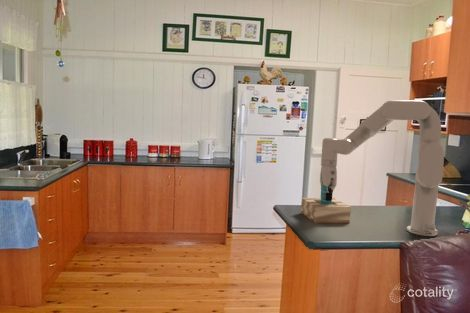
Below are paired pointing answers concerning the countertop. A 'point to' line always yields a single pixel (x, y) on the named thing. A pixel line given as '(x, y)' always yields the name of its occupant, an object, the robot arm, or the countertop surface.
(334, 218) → the socket block
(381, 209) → the countertop surface
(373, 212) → the countertop surface
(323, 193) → the tube
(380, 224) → the countertop surface
